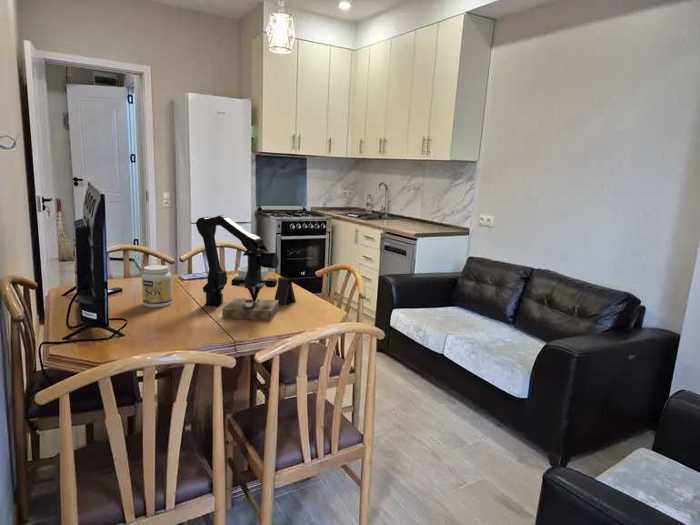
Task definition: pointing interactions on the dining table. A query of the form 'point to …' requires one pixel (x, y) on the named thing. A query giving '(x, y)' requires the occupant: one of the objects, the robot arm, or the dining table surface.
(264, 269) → the cereal bowl
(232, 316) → the walnut block
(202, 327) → the dining table surface
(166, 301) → the supplement tub
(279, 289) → the phone stand
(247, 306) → the black capped peg
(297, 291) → the dining table surface
